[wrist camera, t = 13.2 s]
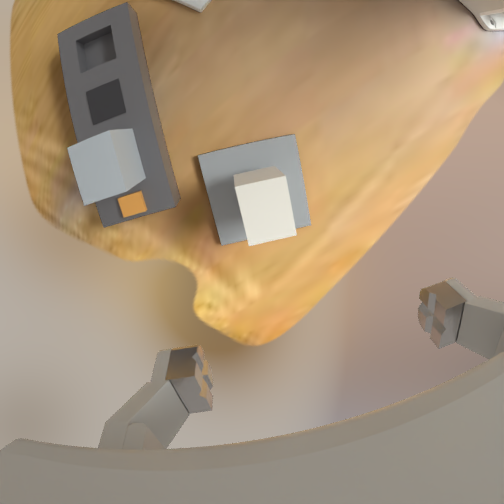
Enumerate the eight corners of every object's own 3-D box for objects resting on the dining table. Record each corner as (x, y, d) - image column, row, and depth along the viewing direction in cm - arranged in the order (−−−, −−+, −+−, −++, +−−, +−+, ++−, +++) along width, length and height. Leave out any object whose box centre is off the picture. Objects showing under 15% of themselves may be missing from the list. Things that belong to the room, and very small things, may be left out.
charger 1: (132, 128, 25) (109, 130, 20) (145, 178, 27) (126, 191, 22) (95, 142, 25) (67, 147, 20) (109, 189, 27) (84, 205, 22)
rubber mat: (293, 134, 30) (294, 134, 30) (309, 222, 34) (311, 224, 34) (198, 155, 30) (197, 155, 30) (221, 242, 34) (221, 245, 34)
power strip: (136, 13, 23) (125, 0, 19) (180, 198, 32) (174, 208, 28) (72, 40, 23) (54, 33, 20) (115, 217, 32) (101, 229, 28)
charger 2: (271, 163, 31) (285, 175, 23) (280, 209, 33) (296, 235, 25) (232, 171, 31) (234, 187, 23) (243, 217, 33) (248, 246, 25)
